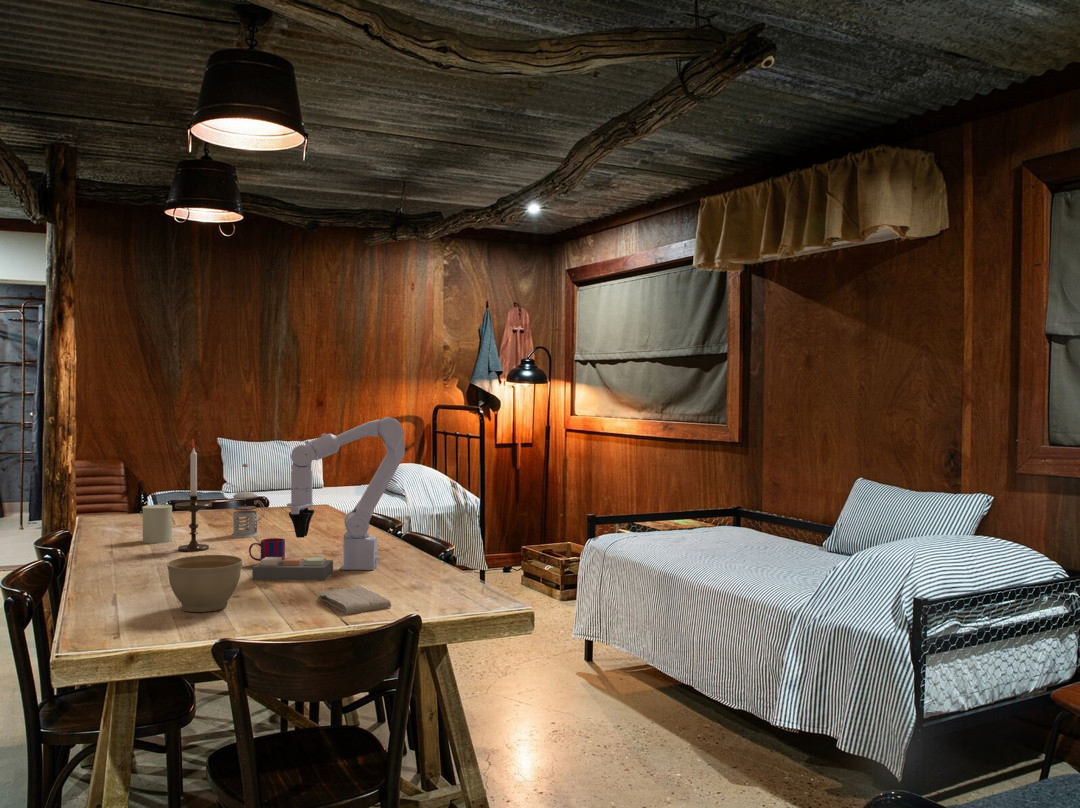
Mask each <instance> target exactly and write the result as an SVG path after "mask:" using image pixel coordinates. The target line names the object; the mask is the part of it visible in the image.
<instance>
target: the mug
mask: <svg viewBox="0 0 1080 808" xmlns="http://www.w3.org/2000/svg"><path fill="white" fill-rule="evenodd" d="M255 545H257V546H259V547H260V558H256V557H254V556H253V555H252V548H253V546H255ZM248 553H249V554H248V555H249V556H250V557H251V559H253V560H255V561H258V562H261V560H262V559H264V558H265V557H282V560H284V559H286V540H285V538H278V537H275V538H274V537H273V538H272V537H271V538H263V539H260V543H259V542H254V543H251V544H250V545H249V549H248Z"/></svg>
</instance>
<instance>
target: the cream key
mask: <svg viewBox="0 0 1080 808" xmlns="http://www.w3.org/2000/svg"><path fill="white" fill-rule="evenodd" d="M260 562H261V565H279V564H281V563H282V557H265V558H264V559H262V560H261V561H260Z"/></svg>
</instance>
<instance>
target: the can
mask: <svg viewBox="0 0 1080 808" xmlns="http://www.w3.org/2000/svg"><path fill="white" fill-rule="evenodd" d="M141 510H142V540H141V542H142V543H143V544H159V543H160V544H162V543H168V542H172V541H173V537H172V536H173V529H172V528H173V525H172V523H173V505H172V504H163V503H162V504H150V505H144V506H142V509H141Z"/></svg>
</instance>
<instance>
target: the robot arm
mask: <svg viewBox="0 0 1080 808" xmlns="http://www.w3.org/2000/svg"><path fill="white" fill-rule="evenodd" d="M366 437H372V438H373V437H374V438H378V437H380V438H381V439H382V441H383V445H384V447H385V450H386V454H384V455H385V456H384V458H383V459H382V461H381V462H380V464H379V466H378V468H377V470H376V471H375V473H374V475H373V476H372V478H371V480H370V482H369V484H368V486H367V487H366V489H365V491H364V493H363V494H362V496H361V498H360V499H359V501H358V502H357V504H356V505H355V507H354V508H353V509H352V511H350V512H349V513H347V514H346V516H345V518H344V521H343V522H344V527H345V530H346V532H345V533H344V534H343V564H342V565H341V566H340V567H339V570H340V571H342V570H343V571H345V570H346V571H347V570H348V571H349V570H350V571H351V570H352V571H355V570H356V571H372V570H374V569H375V568H377V566H378V565H379V563H378V562H379V560H378V559H379V557H378V555H379V554H378V553H379V552H378V549H379V548H378V547H379V546H378V545H379V544H378V543H379V542H378V537H376V536H371V535H370V533H369V532H368V531H369V528H370V520H371V518H372V516H373V514H374V511H375V509H376V506H377V505H378V504H379V501H380V500H381V498H382V496H383V494H384V492H385V491H386V490H387V487H388V485H389V484H390V482H391V480H392V478H393V477H394V475H395V473H396V471H397V470H398V468H399V465H400V464H401V462H402V461H403V459H404V457H405V455H406V449H405V446H406V445H405V432H404V429H403V427H402V424H401V423H400V421H399V420H397V419H396V418H394V417H390V416H389V417H388V416H386V417H382V418H381V419H375V420H371V421H367V422H365V423H362V424H360V425H358V426H355V427H354V428H353V427H352V428H351V429H349V430H346V431H344V432H342V433H340V434H337V435H335V434H333V433H328V434H326V433H325V432H323V433H322V434H320V436H319V437H317V438H314V439H312V440H310V441H309V440H306V441H304V444H299V445H297V446H295V447H294V448H293V449H292V451H291V454H290V458H291V461H292V462H291V463H292V464H291V471H290V477H291V478H290V479H291V480H290V482H291V483H290V485H291V486H290V490H291V491H290V494H291V495H290V503H287V504H286V507H289V508H290V511H289V512H288V516H289V518H290V519H291V522H292V525H293V528H294V533H295V537H296V538H300V539H301V538H305V537H307V536H308V534H309V529H310V523H311V521H312V517H313V516H314V514H315V509H311V508H313V507H314V503H313V470H312V462H313V461H319V460H322V459H324V458H326V457H329V456H330V455H333V454H336V453H338V452H339V450H340V447H341V446H344V445H346V444H348V443H352V442H354V441H357V440H359V439H362V438H366ZM309 508H310V509H309Z"/></svg>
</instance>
